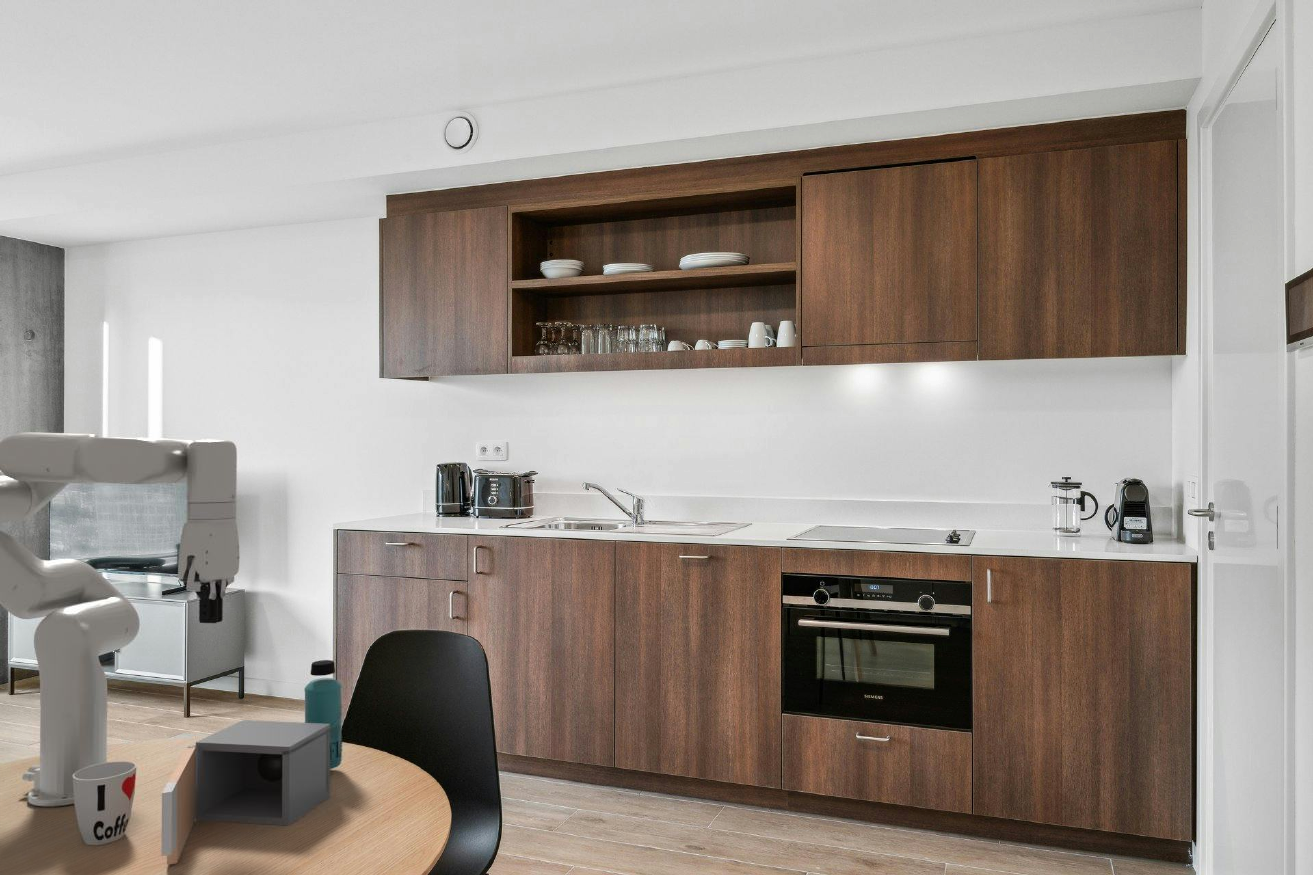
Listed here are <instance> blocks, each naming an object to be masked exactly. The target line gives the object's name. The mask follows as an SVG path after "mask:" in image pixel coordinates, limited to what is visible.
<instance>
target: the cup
mask: <svg viewBox="0 0 1313 875" xmlns="http://www.w3.org/2000/svg"><path fill="white" fill-rule="evenodd" d="M136 776H137V763H136V762H133V761H126V760H124V761H123V760H122V761H121V760H120V761H119V760H118V761H116V760H115V761H108V762H107V763H101V764H96V765H92V766H89V767H86V768H83V769H80V770H78V771H77V772H75V773H74V774H73V790H74V804H73V805H74V809H75V815H76V819H77V826H78V828H79V831H80V835H81V836H82V838H83V842H84V844H85V845H88V846H98V845H106V844H109V843H113V842H116V841H118V840H120V839H121V838H123V837H124V835H125V834H126V831H127V827H128V825H129V821H130V819H131V814H132V808H133V803H134V797H135V794H136V793H135V792H136V791H135V790H136Z"/></svg>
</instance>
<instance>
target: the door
mask: <svg viewBox="0 0 1313 875" xmlns="http://www.w3.org/2000/svg"><path fill="white" fill-rule="evenodd" d="M195 819H196V745H189V746H187V748H186V749H185V751H184V753H183V754H182V756H181V758H180V760H179V762H178V763H177V765H176V766H175V769H174V770H173V773H172V774H171V776H170V778H169V780H168V781H167V783H166V785H165V787H164V789H163V790H162V792H161V846H160V847H161V849H160V850H161V854H160V856H161V857H166V865H167V866H169V865H174V864H178V861H179V859H180V857H181V854H182V851H183V849H184V847H185V844H186V842H187V839H188V838H189V836H190V833H191V830H192V828H193V826H194V823H195V821H196V820H195Z"/></svg>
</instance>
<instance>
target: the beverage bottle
mask: <svg viewBox="0 0 1313 875" xmlns="http://www.w3.org/2000/svg"><path fill="white" fill-rule="evenodd" d="M335 673H336V667H335V661H334V660H331V659H323V660H322V659H321V660H316V661H313V662H312V663H311V665H310V675H312V676H316V677H321V676H328V675H334V674H335ZM342 708H343V703H342V683H340V682H339V681H338V680H337V679H336V678H334V677H321V678H315V679H312V680H311V681H309V683H308V684H306V685H305V687H304V723H321V724H330V770H331V769H332V770H333V769H335V768H338V767H339V766H340V765H341V763H342V759H343V754H342V753H343V738H342V734H343V733H342V730H343V728H342V718H343V716H342V715H343V714H342V713H343V712H342V711H343V709H342Z"/></svg>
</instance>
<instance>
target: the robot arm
mask: <svg viewBox="0 0 1313 875" xmlns="http://www.w3.org/2000/svg"><path fill="white" fill-rule="evenodd" d="M237 455H238V450H237V446H236V444H235V442H233V441H230V440H226V439H222V440H221V439H198V440H197V439H196V440H187V439H177V438H176V439H175V438H172V439H171V438H159V437H158V438H157V437H156V438H155V437H153V438H152V437H151V438H149V437H146V438H145V437H108V436H107V437H104V436H103V437H102V436H99V435H97V434H93V433H68V432H67V433H63V432H61V433H60V432H28V431H27V432H18V433H15V434H11V435H8V436H7V437H4V438H3V439H2V440H1V441H0V473H1V475H0V524H6V523H7V524H8V523H16V522H21V521H24V520H27V519H29V518H31V517H33V516H34V515H35V514H37V513H38V512H39V511H41V510H42V509H43V508H44V507H45V506H46V505H47V504H48V503H49V502H51V501H52V500H53V499H54V498H55V497H56V496H57V495H59V494H60V492H62V491H63V490H64V489H65V488H66V487H67V486H69V484H89V485H92V484H95V483H96V484H122V485H123V484H125V485H126V484H127V485H156V484H183V483H186V522H184V523H183V526H182V531H181V535H180V542H179V553H178V564H177V565H178V567H177V568H178V569H177V576H178V577H177V578H178V580H179V581H180V582H181V583H186V588H185V589H186V591H189V592H194V593H195V595H196V599H197V600H198V603H199V605H198V606H199V607H198V622H199V623H201V624H217V623H222V621H223V617H224V616H223V609H224V607H223V604H224V600H223V598H224V597H225V595H226V589H227V587H228V586H229V585H231V584H233V583H234V582H235V576H236V575H237V574H238V573H239V570H240V541H239V540H240V539H239V531H238V524H237V486H238V484H237V483H238V482H237V481H238V480H237V476H238V474H237V473H238V472H237V468H238V466H237V464H238V456H237ZM2 474H3V475H2ZM0 605H1V606H2V607H3V608H4V609H5V610H6V611H7V612H8V613H10V614H11V615H13V617H15V618H19V619H20V620H21V619H22V620H33V619H38V618H43V619H42V620H41V621H40V622H39V623H38V625H37V627H36V628H35V632H34V635H33V647H34V652H35V653H34V654H35V657H36V660H37V662H36V663H37V666H38V673H39V688H40V689H39V691H40V695H39V704H40V709H39V710H40V716H39V717H40V719H39V720H40V723H39V724H40V725H39V726H40V728H39V733H40V734H39V764H32V765H30V766H29V768H28V769H27V771H25V772H24V773H23V775H22V781H25V782H27V781H28V782H34V783H33V788H32V789H31V790H30V791H29V792H28V794H27V802H28V803H29V804H30V805H33V806H37V807H60V806H69V805H74V790H73V774H74V773H75V772H77V771H78V770H80V769H83V768H86V767H89V766H92V765H96V764H101V763H107V759H108V756H107V755H108V753H107V752H108V748H107V747H108V681H107V676H106V673H105V670H104V668H103V666H102V664H101V662H100V658H99V656H102V655H105V654H109V653H112V652H114V651H118V650H119V649H122V648H124V647H127V646H128V645H129V644H131V643H132V642H133V641H134V639H135V638H136V637H137V635H138V633H139V631H140V625H141V624H140V622H141V621H140V617H139V614H138V611H137V610H136V608H135V607H134V605H133V603H131V601H129V600H128V599H127V597H126V596H125V595H124V594H122V593H121V592H120V591H119V590H118V589H117V588H116V587H115V586H113V584H111V583H110V582H109V580H107V579H106V578H105V577H104V576H103V575H102V574H101V573H100V572H99V571H98V570H97V569H96V568H94V566H92V565H90V564H89V563H87V562H84V561H82V560H79V559H76V558H60V559H59V558H58V559H50V560H45V559H41V558H39V557H37V556H36V555H35V554H33V552H31V551H30V550H29V549H28V548H26V546H24V544H23V543H22V542H21V541H19V540H18V539H17V538H15V537H14V536H12V535H11V534H8V533H7V532H4V531H3V530H0Z"/></svg>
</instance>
